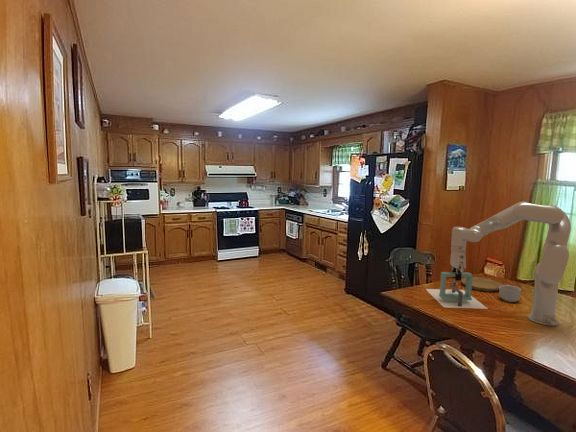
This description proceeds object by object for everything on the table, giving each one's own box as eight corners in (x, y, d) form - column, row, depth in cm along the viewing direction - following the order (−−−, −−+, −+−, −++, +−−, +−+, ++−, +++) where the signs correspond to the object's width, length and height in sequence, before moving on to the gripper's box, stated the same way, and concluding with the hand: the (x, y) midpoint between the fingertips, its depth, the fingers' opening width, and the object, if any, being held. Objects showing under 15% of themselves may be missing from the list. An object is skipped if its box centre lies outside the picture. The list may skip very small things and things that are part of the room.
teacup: (519, 305, 190) (520, 292, 189) (497, 301, 197) (498, 288, 196) (520, 298, 201) (521, 285, 200) (499, 294, 208) (500, 282, 207)
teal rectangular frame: (471, 300, 188) (473, 275, 186) (443, 299, 189) (444, 274, 187) (466, 296, 194) (468, 271, 192) (438, 295, 195) (440, 271, 193)
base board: (488, 311, 182) (488, 308, 181) (443, 309, 183) (443, 307, 183) (463, 292, 211) (463, 289, 211) (425, 291, 213) (425, 288, 213)
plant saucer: (455, 286, 223) (455, 281, 223) (468, 279, 239) (469, 274, 238) (495, 296, 205) (495, 291, 205) (507, 287, 221) (507, 282, 220)
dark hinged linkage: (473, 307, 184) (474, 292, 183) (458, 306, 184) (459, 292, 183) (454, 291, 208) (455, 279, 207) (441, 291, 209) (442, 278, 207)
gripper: (472, 251, 180) (469, 284, 182) (458, 245, 196) (456, 275, 198) (458, 251, 180) (455, 283, 182) (445, 245, 197) (443, 274, 199)
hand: (456, 278), depth 190 cm, fingers closed on teal rectangular frame, 4 cm apart
